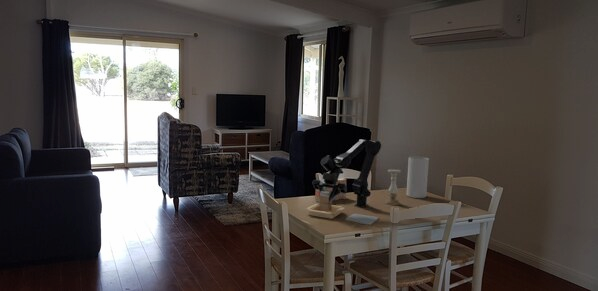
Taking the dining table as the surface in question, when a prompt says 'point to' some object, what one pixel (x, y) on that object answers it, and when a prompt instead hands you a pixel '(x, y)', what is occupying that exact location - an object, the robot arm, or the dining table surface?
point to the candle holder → (393, 188)
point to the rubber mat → (362, 219)
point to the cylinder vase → (417, 177)
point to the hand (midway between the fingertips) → (324, 199)
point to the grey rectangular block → (325, 201)
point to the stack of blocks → (338, 196)
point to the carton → (330, 214)
